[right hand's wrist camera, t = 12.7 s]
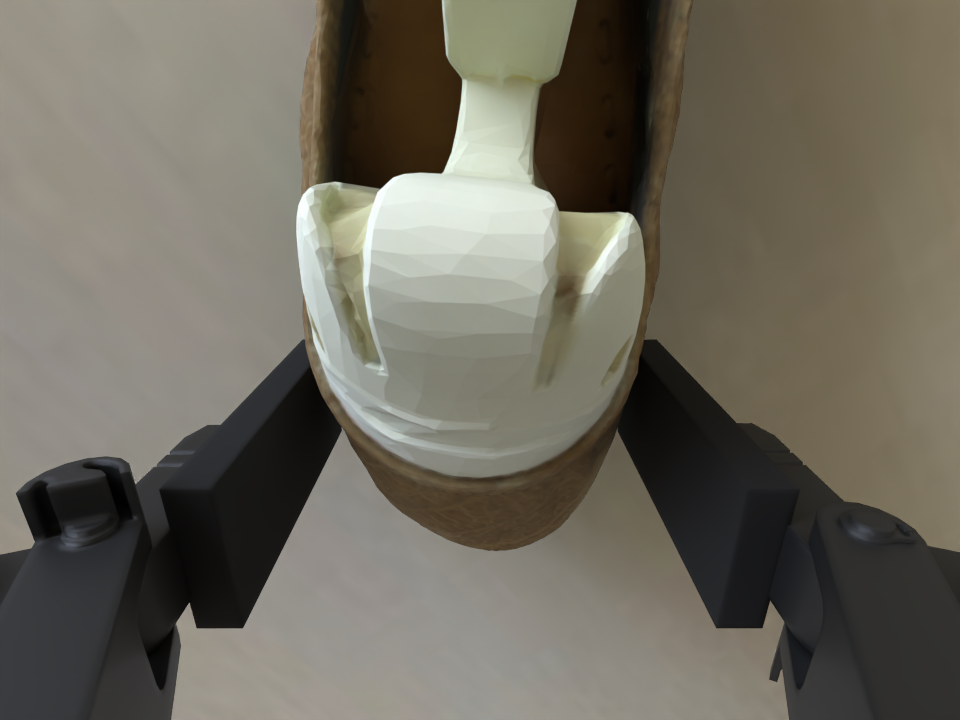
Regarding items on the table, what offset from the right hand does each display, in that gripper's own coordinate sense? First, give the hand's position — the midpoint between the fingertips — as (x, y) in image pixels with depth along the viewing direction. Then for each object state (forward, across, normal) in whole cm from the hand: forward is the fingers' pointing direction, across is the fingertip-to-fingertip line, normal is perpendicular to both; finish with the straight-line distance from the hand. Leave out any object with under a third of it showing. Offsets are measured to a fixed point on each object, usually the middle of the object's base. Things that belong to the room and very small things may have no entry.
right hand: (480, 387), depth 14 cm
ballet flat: (+2, -1, -7) cm, 7 cm away
